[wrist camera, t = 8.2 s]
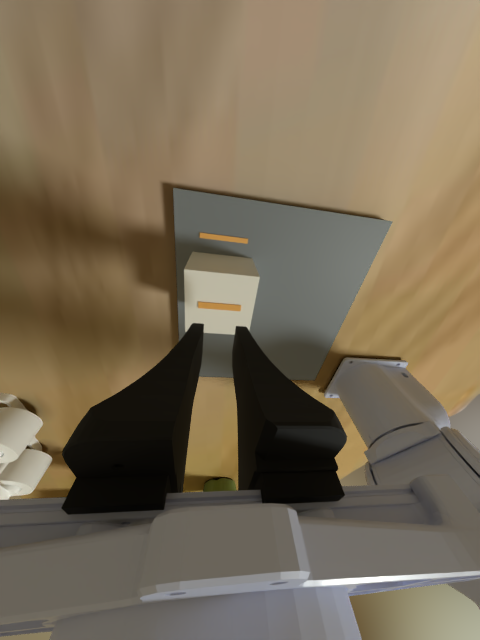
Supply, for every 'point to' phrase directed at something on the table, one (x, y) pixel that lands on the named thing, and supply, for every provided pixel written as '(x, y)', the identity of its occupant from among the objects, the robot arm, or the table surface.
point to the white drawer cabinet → (219, 292)
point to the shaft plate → (279, 273)
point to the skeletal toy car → (19, 449)
